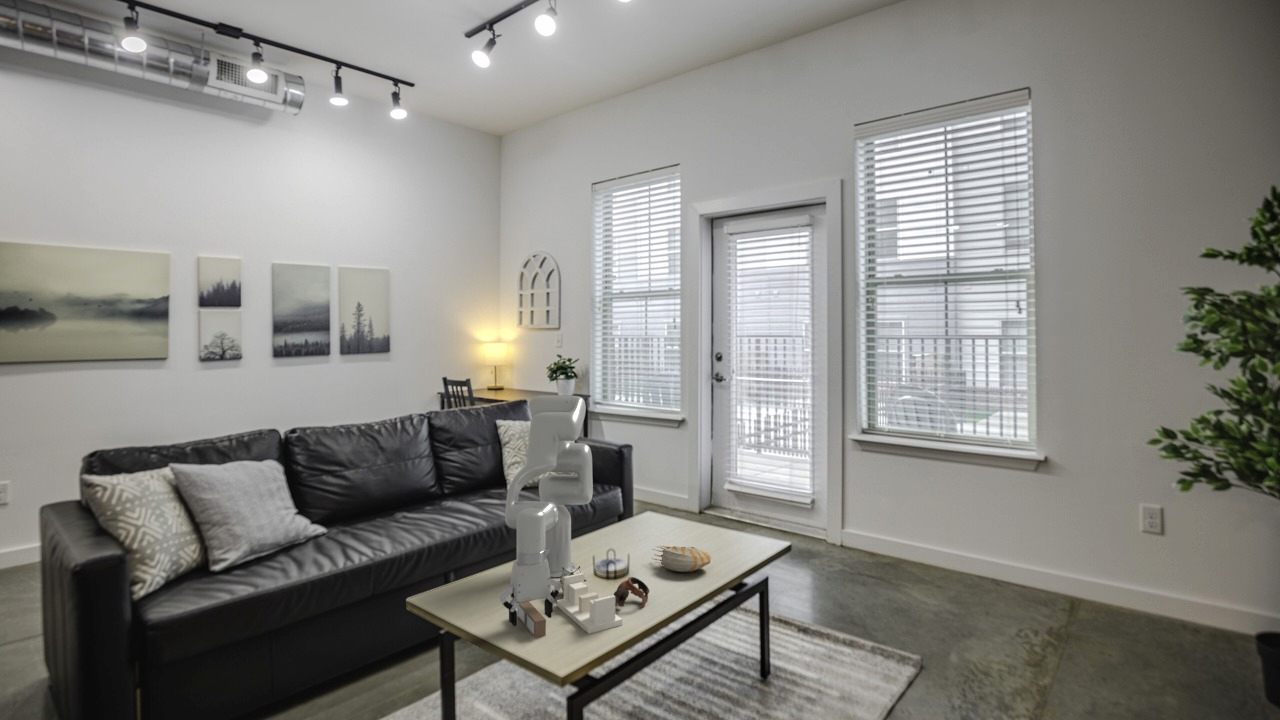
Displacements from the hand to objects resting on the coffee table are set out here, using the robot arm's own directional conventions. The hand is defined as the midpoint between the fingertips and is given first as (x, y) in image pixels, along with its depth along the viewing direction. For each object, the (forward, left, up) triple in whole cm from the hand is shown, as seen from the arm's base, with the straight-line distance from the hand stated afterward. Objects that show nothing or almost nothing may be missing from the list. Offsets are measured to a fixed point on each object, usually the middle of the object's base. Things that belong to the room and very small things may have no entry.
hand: (531, 620), depth 166 cm
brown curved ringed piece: (+2, +29, -2) cm, 29 cm away
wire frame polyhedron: (-13, +18, -2) cm, 22 cm away
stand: (+2, +16, -2) cm, 16 cm away
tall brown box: (0, 0, -2) cm, 2 cm away
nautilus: (-14, +58, -2) cm, 60 cm away
